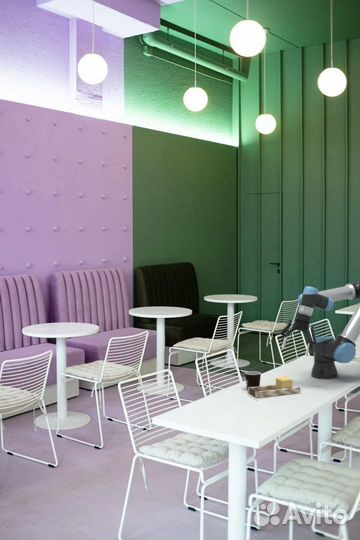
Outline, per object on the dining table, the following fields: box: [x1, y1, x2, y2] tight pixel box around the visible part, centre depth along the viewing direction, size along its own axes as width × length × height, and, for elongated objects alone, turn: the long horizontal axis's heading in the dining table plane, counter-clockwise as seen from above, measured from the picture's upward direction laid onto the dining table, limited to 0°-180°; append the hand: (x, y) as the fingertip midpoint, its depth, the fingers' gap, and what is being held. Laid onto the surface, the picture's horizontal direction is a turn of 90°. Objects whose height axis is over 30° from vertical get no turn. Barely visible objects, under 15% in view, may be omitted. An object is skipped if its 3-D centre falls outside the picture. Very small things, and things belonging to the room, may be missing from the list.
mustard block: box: [275, 376, 293, 389], centre depth 326 cm, size 6×7×7 cm
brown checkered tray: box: [247, 383, 301, 401], centre depth 324 cm, size 25×12×4 cm, turn 108°
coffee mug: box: [244, 370, 262, 391], centre depth 335 cm, size 12×9×10 cm
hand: (294, 352), depth 336 cm, fingers open, 13 cm apart
